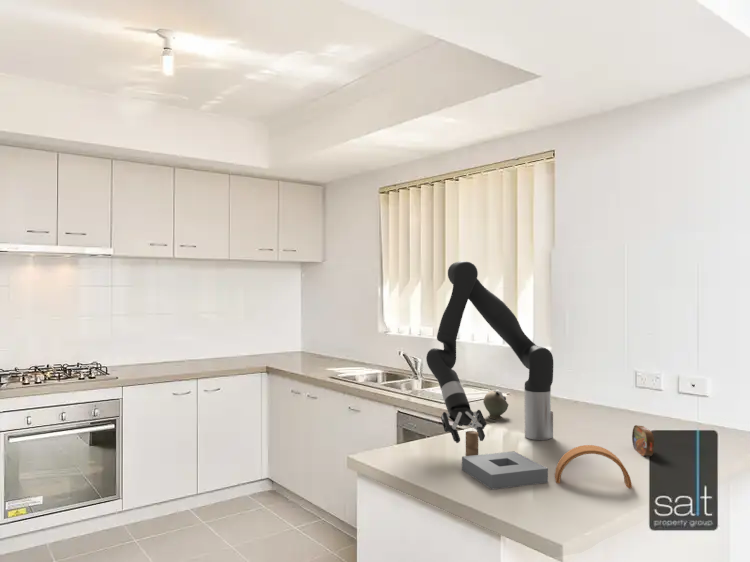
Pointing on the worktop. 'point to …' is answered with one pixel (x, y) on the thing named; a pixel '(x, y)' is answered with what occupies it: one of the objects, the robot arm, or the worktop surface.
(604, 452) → the arch
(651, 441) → the tin
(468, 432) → the peg
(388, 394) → the worktop surface
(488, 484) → the socket block
